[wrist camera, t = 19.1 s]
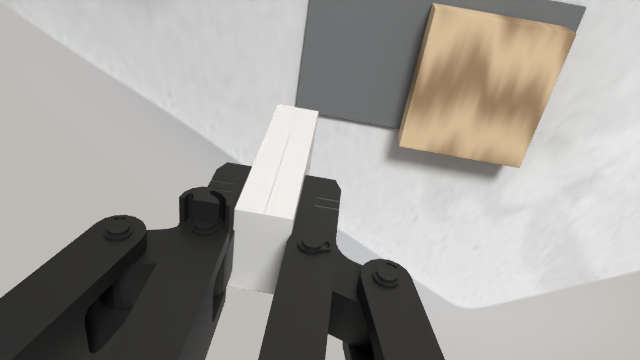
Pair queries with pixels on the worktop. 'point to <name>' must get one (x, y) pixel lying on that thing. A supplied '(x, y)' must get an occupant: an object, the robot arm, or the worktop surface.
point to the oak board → (482, 84)
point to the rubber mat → (385, 51)
